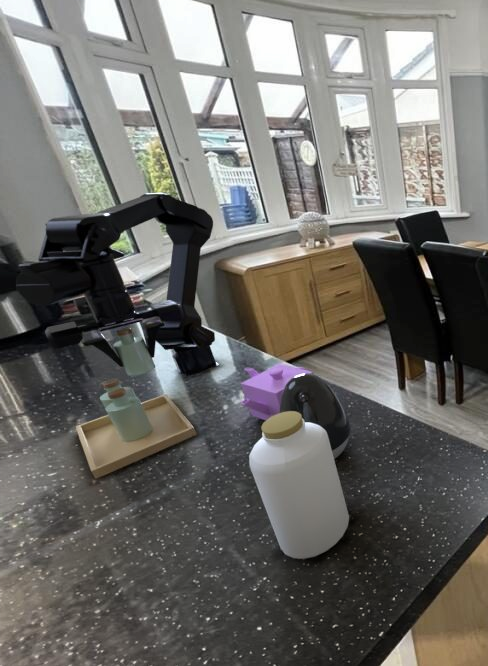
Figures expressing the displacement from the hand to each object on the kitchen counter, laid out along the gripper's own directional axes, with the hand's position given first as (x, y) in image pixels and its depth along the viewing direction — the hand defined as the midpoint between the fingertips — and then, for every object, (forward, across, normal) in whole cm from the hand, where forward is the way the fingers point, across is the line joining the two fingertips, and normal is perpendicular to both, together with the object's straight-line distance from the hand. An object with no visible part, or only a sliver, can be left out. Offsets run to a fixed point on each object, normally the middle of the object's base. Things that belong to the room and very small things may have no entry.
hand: (137, 361), depth 79 cm
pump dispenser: (+9, -13, +45) cm, 48 cm away
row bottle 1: (+9, +5, +7) cm, 12 cm away
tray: (+9, +5, +13) cm, 16 cm away
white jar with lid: (+9, -5, +59) cm, 60 cm away
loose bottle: (+2, 0, 0) cm, 2 cm away
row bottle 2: (+9, +5, +13) cm, 16 cm away
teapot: (+9, -14, +29) cm, 33 cm away
